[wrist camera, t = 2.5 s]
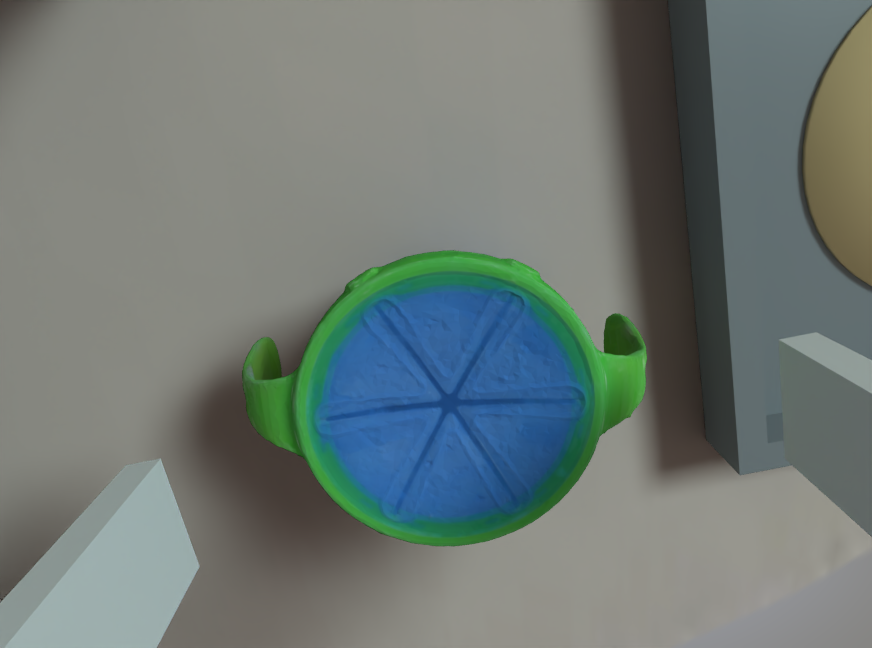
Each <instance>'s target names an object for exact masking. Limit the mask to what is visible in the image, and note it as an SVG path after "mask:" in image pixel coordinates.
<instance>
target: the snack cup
mask: <svg viewBox="0 0 872 648" xmlns="http://www.w3.org/2000/svg"><path fill="white" fill-rule="evenodd" d="M646 362H647V354H646V346H645V343H644V341H643V339H642V337H641V335H640V333H639V331H638V330H637V329H636V327H635V326H634V324H633V323H632V322H631V321H630V320H629V319H628V318H627V317H625V316H623V315H621V314H616V313H615V314H612V315H611V316H609V317H608V318H607V319H606V324H605V330H604V353H603V352H601V351H599V350H597V349H596V347H595V346H594V344H593V342H592V340H591V338H590V335H589V333H588V331H587V330H586V328H585V327H584V325H583V324H582V322H581V321H580V319H579V318H578V317H577V315H576V314H575V312H574V310H573V309H572V308H571V307H570V306H569V305H568V303H567V302H566V301H565V300H564V299H563V298H562V297H561V296H560V295H559V294H558V293H557V292H556V291H555V290H554V289H552V288H551V287H550V286H549V285H548V284H546V283H545V282H544V281H542V279H541V278H540V275H539V273H538V272H537V271H536V270H534V269H532V268H530V267H529V266H527V265H525V264H523V263H520V262H518V261H516V260H513V259H499V258H495V257H492V256H488V255H485V254H479V253H472V252H461V251H454V250H452V251H439V252H429V253H423V254H417V255H412V256H408V257H404V258H402V259H400V260H397V261H395V262H392V263H390V264H387V265H385V266H382V267H374V268H371V269H368V270H366V271H365V272H364V273H362V274H360V275H359V276H357V277H356V278H355V279H353V280H352V281H350V282H349V283H348V284H347V285H346V287H345V291H344V293H343V294H342V295H341V296H340V297H339V298H338V299H337V301H336V302H335V303H334V304H333V305H332V306H331V307H330V309H329V310H328V311H327V313H326V314H325V315H324V317H323V318H322V320H321V321H320V322H319V324H318V325H317V327H316V329H315V331H314V332H313V334H312V336H311V338H310V340H309V342H308V344H307V346H306V349H305V351H304V354H303V357H302V360H301V363H300V365H299V367H298V369H296V370H295V371H294V372H293V373H291V374H290V375H288V376H286V377H281V376H282V372H281V364H280V359H279V355H278V351H277V348H276V346H275V343H274V341H273V340H272V339H271V338H269V337H265V338H261V339H260V340H258V341H257V342H256V343H255V344H254V345H253V346H252V348H251V350H250V352H249V354H248V356H247V357H246V360H245V363H244V366H243V370H242V381H243V390H244V392H245V393H244V394H245V397H246V410H247V414H248V417H249V419H250V422H251V424H252V426H253V427H254V428H255V429H256V431H257V432H258V433H259V434H260V435H261V436H262V437H263V438H265V439H266V440H268V441H270V442H271V443H273V444H274V445H276V446H278V447H281V448H284V449H286V450H288V451H290V452H293V453H296V454H297V455H298V456H302V457H303V458H304V459H305V460H306V461H307V463H308V465H309V467H310V469H311V471H312V473H313V474H314V476H315V478H316V479H317V481H318V482H319V483H320V485H321V486H322V488H323V489H324V490H325V491H326V493H327V494H328V495H329V496H330V497H331V499H332V500H333V501H334V502H335V503H336V504H338V505H339V506H340V507H341V508H342V509H343V510H344V511H346V512H347V513H348V514H350V515H351V516H352V517H354V518H355V519H357V520H358V521H360V522H362V523H363V524H365V525H366V526H368V527H370V528H372V529H374V530H376V531H377V532H379V533H381V534H384V535H387V536H390V537H394V538H397V539H400V540H404V541H407V542H410V543H415V544H423V545H431V546H460V545H469V544H475V543H480V542H485V541H489V540H492V539H495V538H498V537H501V536H504V535H507V534H509V533H512V532H514V531H516V530H518V529H520V528H523V527H524V526H526V525H528V524H530V523H532V522H533V521H535V520H536V519H538V518H539V517H541V516H542V515H543V514H545V513H546V512H547V511H549V510H550V509H551V508H552V507H553V506H555V505H556V504H557V503H558V502H559V501H560V500H561V499H562V498H563V497H564V496H565V495H566V494H567V493H568V492H569V491H570V489H571V488H572V487H573V486H574V485H575V483H576V482H577V481H578V480H579V478H580V476H581V475H582V473H583V472H584V470H585V469H586V467H587V465H588V463H589V462H590V460H591V458H592V455H593V453H594V451H595V448H596V445H597V442H598V440H599V437H600V436H601V435H602V434H603V433H605V432H606V431H607V430H608V429H610V428H612V427H614V426H615V425H617V424H619V423H620V422H621V421H623V420H624V419H625V418H628V417H630V416H631V414H632V412H633V411H634V410H635V408H637V406H638V405H639V404H640V402H641V401H642V399H643V396H644V392H645V385H646V376H645V366H646Z"/></svg>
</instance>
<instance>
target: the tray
mask: <svg viewBox="0 0 872 648" xmlns="http://www.w3.org/2000/svg"><path fill="white" fill-rule="evenodd" d="M668 7H669V18H670V30H671V41H672V53H673V64H674V76H675V87H676V98H677V110H678V121H679V133H680V144H681V155H682V167H683V178H684V190H685V201H686V213H687V224H688V235H689V247H690V258H691V270H692V281H693V292H694V304H695V315H696V327H697V338H698V350H699V361H700V372H701V384H702V395H703V407H704V418H705V429H706V440H707V441H708V442H709V443H710V444H711V445H712V446H713V447H714V449H715V450H716V451H717V452H718V453H719V454H720V455H721V456H722V457H723V458H724V459H725V460H726V461H727V462H728V463H729V464H730V465H731V466H732V467H733V469H734V470H735V471H736V472H737V473H738V474H739V475H744V474H749V473H754V472H759V471H764V470H770V469H775V468H780V467H785V466H790V465H791V464H790V463H789V462H788V461H787V460H786V459H785V453H784V434H783V414H782V395H781V375H780V356H779V339H784V338H789V337H795V336H800V335H805V334H810V333H815V332H817V333H819V334H821V335H823V336H825V337H827V338H829V339H831V340H833V341H835V342H837V343H839V344H841V345H843V346H845V347H847V348H849V349H851V350H852V351H854V352H856V353H858V354H860V355H862V356H864V357H866V358H868V359H870V360H872V0H668Z"/></svg>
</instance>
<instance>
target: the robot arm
mask: <svg viewBox="0 0 872 648" xmlns="http://www.w3.org/2000/svg"><path fill="white" fill-rule="evenodd" d="M779 356H780V375H781V395H782V414H783V434H784V453H785V459H786V460H787V461H788V462H789V463H790V464H791V465H793V466H794V467H795V468H796V469H797V470H798V471H799V472H800V473H801V474H803V475H804V476H805V477H806V478H807V479H808V480H809V481H810V482H811V483H813V484H814V485H815V486H816V487H817V488H818V489H819V490H820V491H821V492H823V493H824V494H825V495H826V496H827V497H828V498H829V499H830V500H831V501H832V502H834V503H835V504H836V505H837V506H838V507H839V508H840V509H841V510H842V511H844V512H845V513H846V514H847V515H848V516H849V517H850V518H851V519H852V520H854V521H855V522H856V523H857V524H858V525H859V526H860V527H861V528H862V529H864V530H865V531H866V532H867V533H868V534H869V535H870V536H871V537H872V360H870V359H868V358H866V357H864V356H862V355H860V354H858V353H856V352H854V351H852V350H851V349H849V348H847V347H845V346H843V345H841V344H839V343H837V342H835V341H833V340H831V339H829V338H827V337H825V336H823V335H821V334H819V333H817V332H815V333H810V334H805V335H800V336H795V337H789V338H784V339H779ZM199 567H200V566H199V563H198V560H197V558H196V555H195V552H194V549H193V547H192V544H191V541H190V538H189V536H188V533H187V530H186V527H185V525H184V522H183V519H182V516H181V514H180V511H179V508H178V505H177V503H176V500H175V497H174V494H173V492H172V489H171V486H170V483H169V481H168V478H167V475H166V472H165V470H164V467H163V464H162V461H161V459H156V460H151V461H145V462H140V463H135V464H130V465H126V466H125V467H124V468H123V469H122V470H121V471H120V472H119V473H118V475H117V476H116V477H115V478H114V479H113V480H112V481H111V482H110V483H109V484H108V485H107V487H106V488H105V489H104V490H103V491H102V492H101V493H100V494H99V495H98V496H97V498H96V499H95V500H94V501H93V502H92V503H91V504H90V505H89V506H88V507H87V508H86V510H85V511H84V512H83V513H82V514H81V515H80V516H79V517H78V518H77V519H76V521H75V522H74V523H73V524H72V525H71V526H70V527H69V528H68V529H67V530H66V531H65V533H64V534H63V535H62V536H61V537H60V538H59V539H58V540H57V541H56V542H55V543H54V545H53V546H52V547H51V548H50V549H49V550H48V551H47V552H46V553H45V554H44V556H43V557H42V558H41V559H40V560H39V561H38V562H37V563H36V564H35V565H34V566H33V568H32V569H31V570H30V571H29V572H28V573H27V574H26V575H25V576H24V577H23V579H22V580H21V581H20V582H19V583H18V584H17V585H16V586H15V587H14V588H13V589H12V591H11V592H10V593H9V594H8V595H7V596H6V597H5V598H4V599H3V600H2V602H1V603H0V648H157V646H158V644H159V642H160V640H161V639H162V637H163V635H164V633H165V631H166V629H167V627H168V625H169V623H170V622H171V620H172V618H173V616H174V614H175V612H176V610H177V608H178V606H179V604H180V603H181V601H182V599H183V597H184V595H185V593H186V591H187V589H188V587H189V586H190V584H191V582H192V580H193V578H194V576H195V574H196V572H197V570H198V568H199Z"/></svg>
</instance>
